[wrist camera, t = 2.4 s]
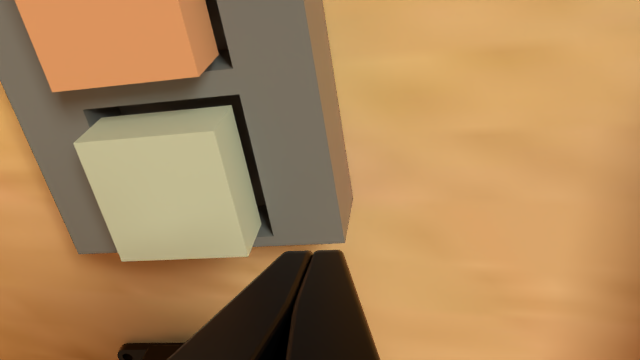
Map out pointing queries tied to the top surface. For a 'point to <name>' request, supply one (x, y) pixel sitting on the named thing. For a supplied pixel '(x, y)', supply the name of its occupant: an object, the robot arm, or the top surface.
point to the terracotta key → (118, 40)
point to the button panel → (201, 92)
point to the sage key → (172, 184)
